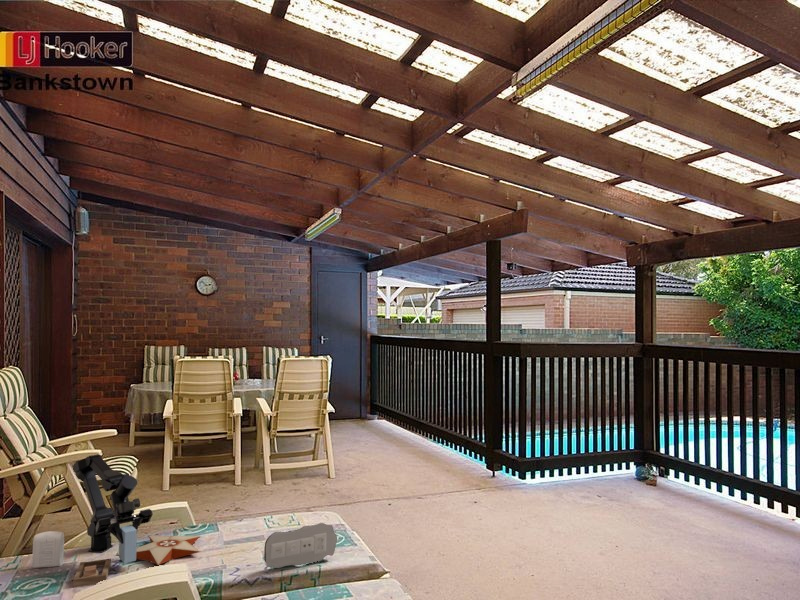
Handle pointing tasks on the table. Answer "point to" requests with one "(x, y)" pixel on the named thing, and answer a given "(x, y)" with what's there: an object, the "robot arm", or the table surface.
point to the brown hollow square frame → (91, 580)
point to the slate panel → (128, 544)
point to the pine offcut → (92, 575)
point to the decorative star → (166, 548)
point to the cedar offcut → (90, 570)
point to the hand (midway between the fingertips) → (129, 541)
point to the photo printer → (48, 549)
